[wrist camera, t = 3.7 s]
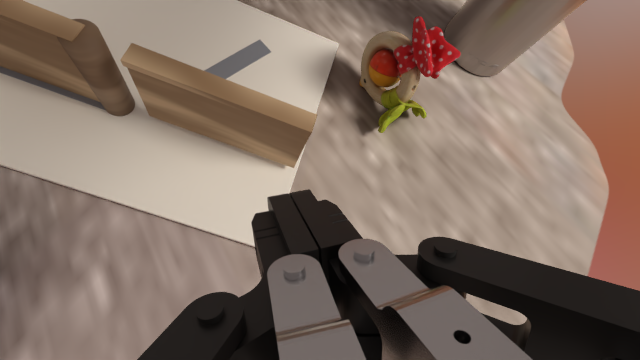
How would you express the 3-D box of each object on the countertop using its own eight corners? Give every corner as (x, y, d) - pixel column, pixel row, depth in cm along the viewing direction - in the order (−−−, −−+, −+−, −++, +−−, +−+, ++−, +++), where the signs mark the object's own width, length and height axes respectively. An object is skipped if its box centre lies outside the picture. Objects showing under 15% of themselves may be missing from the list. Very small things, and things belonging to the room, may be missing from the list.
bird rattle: (336, 106, 37) (393, 153, 33) (343, 4, 29) (421, 49, 24) (377, 87, 40) (435, 128, 35) (394, -13, 31) (474, 25, 27)
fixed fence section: (6, 49, 28) (-82, -47, 20) (140, 98, 29) (107, 26, 21) (-13, 70, 27) (-112, -21, 19) (127, 120, 28) (87, 54, 21)
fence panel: (156, 104, 28) (131, 42, 21) (297, 156, 30) (317, 114, 23) (148, 118, 28) (120, 59, 21) (292, 170, 30) (311, 132, 23)
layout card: (84, -60, 34) (81, -67, 33) (337, 47, 37) (339, 42, 37) (-89, 136, 25) (-98, 132, 24) (269, 252, 28) (270, 251, 28)
